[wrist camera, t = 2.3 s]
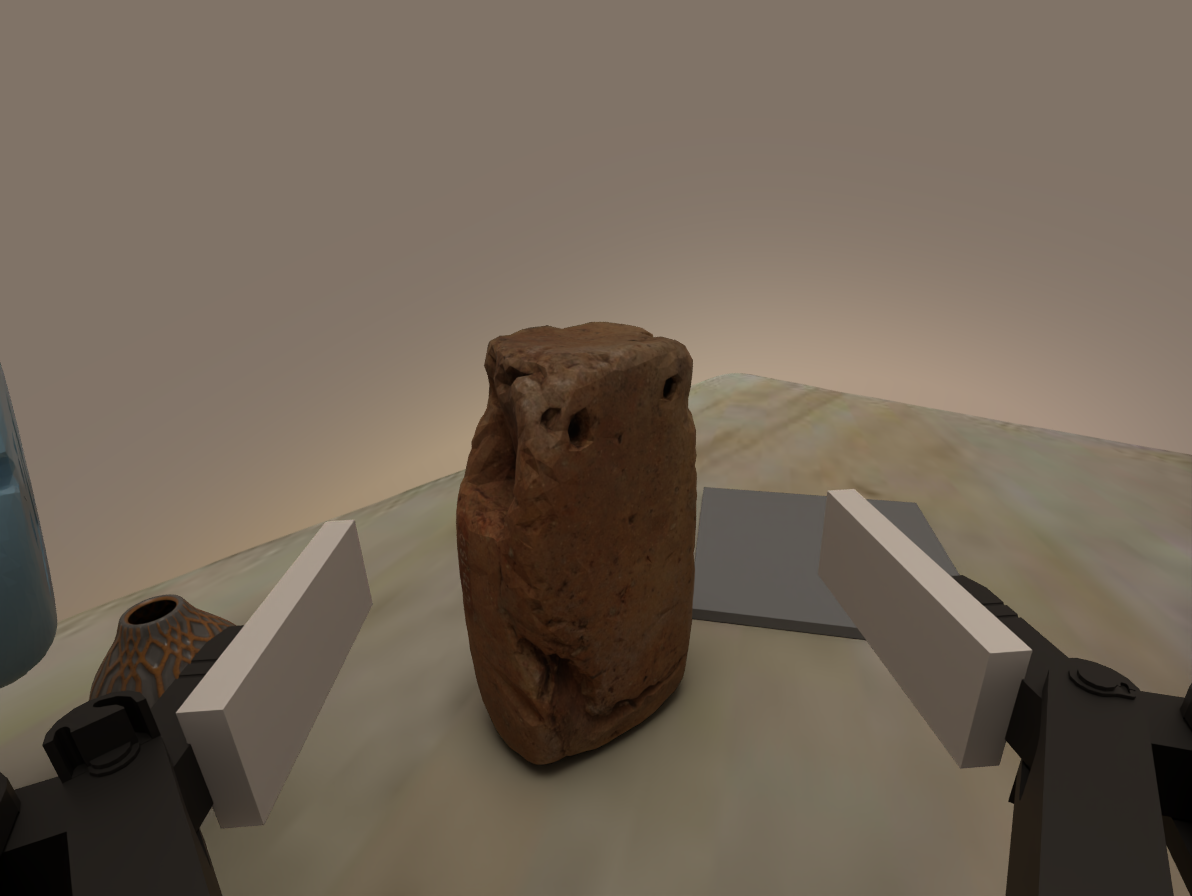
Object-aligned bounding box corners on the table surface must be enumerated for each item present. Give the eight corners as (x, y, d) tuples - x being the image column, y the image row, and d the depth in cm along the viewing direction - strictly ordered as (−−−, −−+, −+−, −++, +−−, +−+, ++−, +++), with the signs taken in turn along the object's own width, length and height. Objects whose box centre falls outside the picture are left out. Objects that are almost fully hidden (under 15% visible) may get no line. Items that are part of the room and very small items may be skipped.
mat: (688, 618, 38) (689, 607, 38) (703, 494, 54) (703, 487, 54) (998, 655, 34) (1001, 645, 34) (914, 511, 50) (916, 502, 50)
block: (614, 623, 38) (610, 310, 30) (703, 690, 32) (725, 329, 25) (463, 710, 31) (409, 342, 24) (542, 812, 26) (504, 376, 18)
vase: (95, 773, 28) (23, 628, 25) (237, 682, 34) (194, 552, 30) (163, 847, 25) (90, 690, 22) (310, 731, 30) (270, 592, 27)
